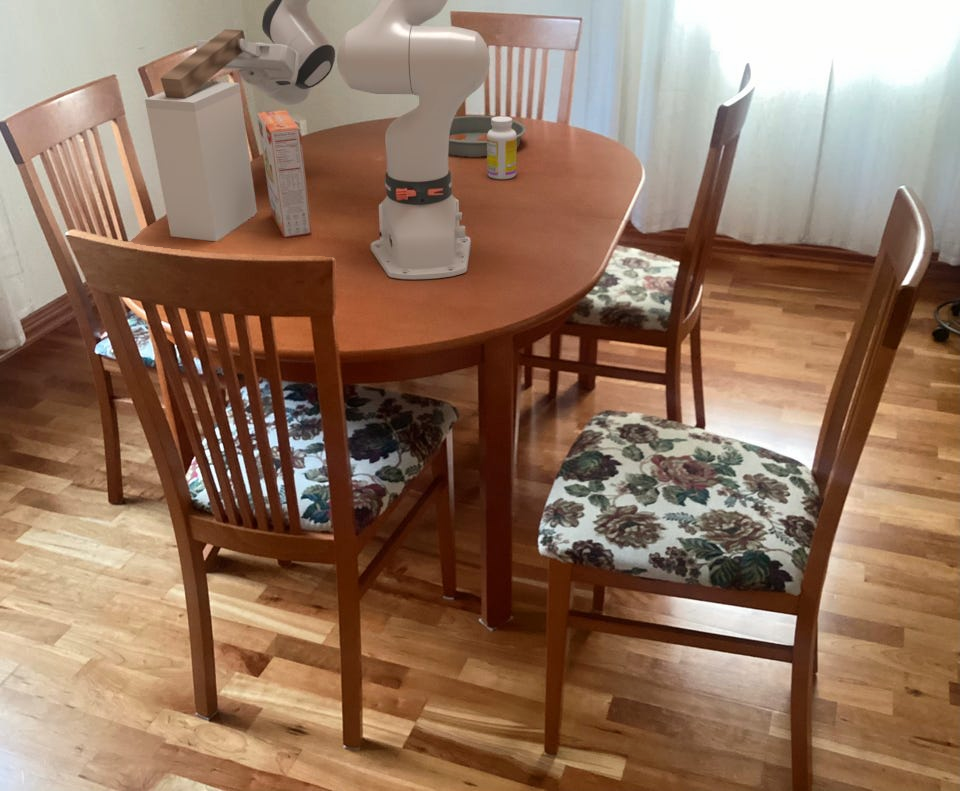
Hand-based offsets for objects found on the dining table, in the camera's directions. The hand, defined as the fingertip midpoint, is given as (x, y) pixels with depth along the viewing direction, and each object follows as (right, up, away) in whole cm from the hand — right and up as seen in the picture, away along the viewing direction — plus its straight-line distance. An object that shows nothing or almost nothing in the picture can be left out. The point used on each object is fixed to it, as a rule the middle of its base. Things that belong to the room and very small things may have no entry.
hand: (226, 41), depth 178 cm
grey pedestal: (-4, -34, +5) cm, 35 cm away
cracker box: (+11, -35, +5) cm, 37 cm away
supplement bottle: (+54, -19, +31) cm, 65 cm away
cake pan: (+48, -6, +53) cm, 72 cm away
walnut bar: (-2, -7, -4) cm, 9 cm away
